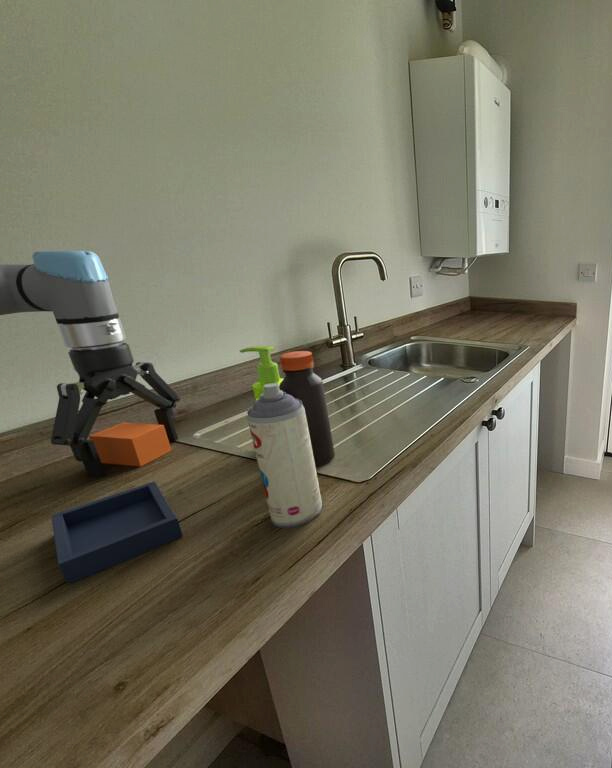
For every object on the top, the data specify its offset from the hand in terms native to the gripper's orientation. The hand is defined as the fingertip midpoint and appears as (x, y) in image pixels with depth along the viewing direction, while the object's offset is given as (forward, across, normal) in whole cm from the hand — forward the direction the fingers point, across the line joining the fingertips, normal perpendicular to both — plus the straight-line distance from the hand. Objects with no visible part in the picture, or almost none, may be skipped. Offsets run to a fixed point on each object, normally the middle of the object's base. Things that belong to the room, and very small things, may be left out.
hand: (137, 455), depth 77 cm
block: (0, 0, 0) cm, 0 cm away
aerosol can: (+1, -11, -41) cm, 42 cm away
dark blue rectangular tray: (0, -19, -20) cm, 27 cm away
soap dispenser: (0, +8, -24) cm, 25 cm away
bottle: (+1, +4, -34) cm, 34 cm away
